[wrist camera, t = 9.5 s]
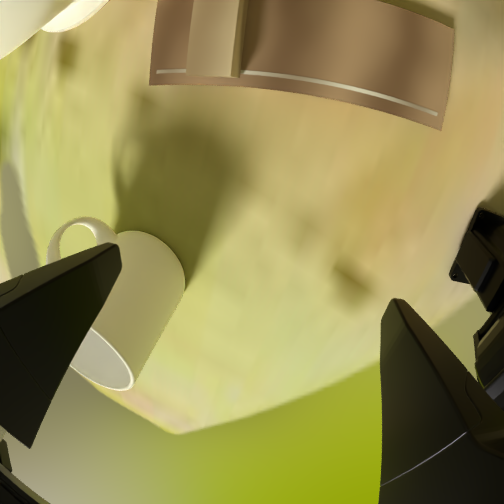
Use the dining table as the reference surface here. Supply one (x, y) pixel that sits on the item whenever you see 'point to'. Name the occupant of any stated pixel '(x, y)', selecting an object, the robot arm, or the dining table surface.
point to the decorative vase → (41, 18)
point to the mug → (127, 305)
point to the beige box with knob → (216, 38)
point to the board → (325, 54)
